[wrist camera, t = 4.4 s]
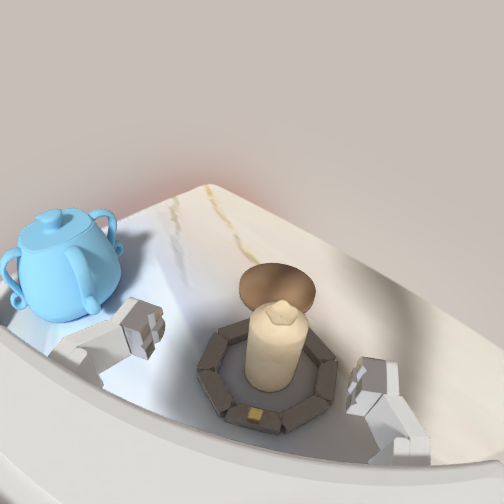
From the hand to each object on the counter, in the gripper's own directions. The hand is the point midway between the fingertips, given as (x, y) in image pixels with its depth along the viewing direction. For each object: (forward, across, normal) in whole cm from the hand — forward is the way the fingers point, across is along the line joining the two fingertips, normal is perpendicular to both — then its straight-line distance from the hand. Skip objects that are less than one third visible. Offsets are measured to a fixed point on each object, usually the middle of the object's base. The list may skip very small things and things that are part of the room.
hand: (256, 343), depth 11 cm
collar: (+12, 0, +20) cm, 23 cm away
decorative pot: (+14, +30, +20) cm, 39 cm away
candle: (+12, 0, +20) cm, 23 cm away
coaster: (+26, +2, +20) cm, 33 cm away
